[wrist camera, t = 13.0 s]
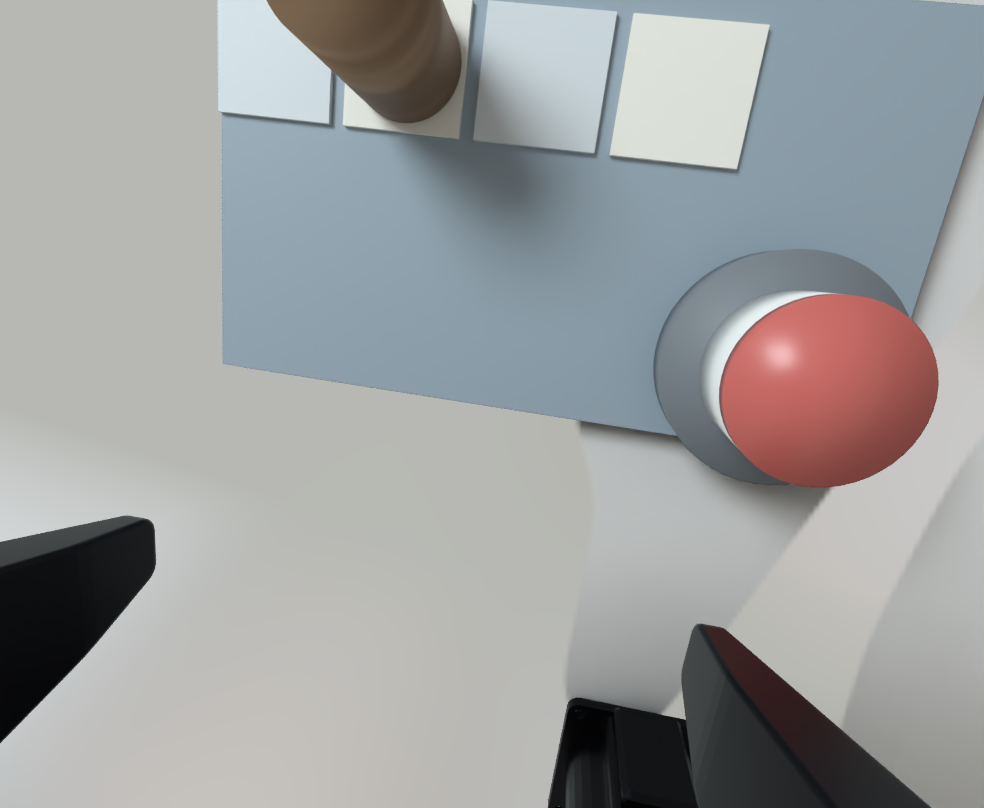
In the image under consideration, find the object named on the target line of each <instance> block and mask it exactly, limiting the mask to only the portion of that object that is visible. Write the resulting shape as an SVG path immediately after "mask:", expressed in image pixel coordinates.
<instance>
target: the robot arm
mask: <svg viewBox="0 0 984 808" xmlns="http://www.w3.org/2000/svg"><path fill="white" fill-rule="evenodd" d="M155 565H156V552H155V529H154V525H153V523H152V522H151V521H150V520H148V519H144V518H139V517H133V516H121V517H117V518H111V519H107V520H102V521H97V522H93V523H88V524H84V525H79V526H74V527H69V528H64V529H60V530H55V531H51V532H45V533H41V534H36V535H32V536H27V537H22V538H18V539H12V540H8V541H3V542H0V743H1V742H2V741H3V740H4V739H5V738H6V737H7V736H8V735H9V734H10V733H11V732H12V730H14V729H15V728H16V727H17V726H18V725H19V724H20V723H21V722H22V720H23V719H24V718H25V717H26V716H27V715H28V714H29V713H30V712H31V711H32V710H33V709H34V708H35V707H36V706H37V705H38V704H39V703H40V702H41V701H42V700H43V699H44V698H45V697H46V696H47V695H48V694H49V693H50V692H51V691H52V690H53V689H54V688H55V687H56V686H57V685H58V684H59V683H60V682H61V681H62V680H63V678H65V677H66V676H67V675H68V673H69V672H70V671H72V669H73V668H74V667H75V666H76V665H77V664H78V663H79V662H80V661H81V660H82V659H83V658H84V657H85V656H86V655H87V653H88V652H89V651H90V650H91V649H92V648H93V646H94V645H95V644H96V643H97V642H98V641H99V639H100V638H101V637H102V636H103V635H104V633H105V632H106V631H107V630H108V629H109V627H110V626H111V625H112V624H113V622H114V621H115V620H116V619H117V618H118V616H119V615H120V614H121V613H122V612H123V611H124V609H125V608H126V607H127V606H128V605H129V603H130V602H131V601H132V599H133V598H134V597H135V596H136V595H137V593H138V592H139V591H140V590H141V589H142V587H143V586H144V585H145V584H146V583H147V582H148V580H149V579H150V578H151V576H152V574H153V572H154V569H155ZM682 691H683V699H684V707H685V715H686V720H684V719H679V718H674V717H669V716H665V715H660V714H655V713H650V712H645V711H640V710H636V709H631V708H626V707H621V706H616V705H611V704H607V703H602V702H597V701H592V700H587V699H582V698H574V699H572V700H570V701H569V702H568V705H567V709H566V714H565V719H564V725H563V729H562V734H561V739H560V744H559V750H558V755H557V759H556V764H555V769H554V774H553V779H552V784H551V789H550V795H549V799H548V808H931V807H930V806H929V805H928V804H927V803H925V802H924V801H923V800H922V799H921V798H920V797H918V796H917V795H916V794H915V793H914V792H913V791H912V790H910V789H909V788H908V787H907V786H906V785H905V784H903V783H902V782H901V781H900V780H899V779H898V778H896V777H895V776H894V775H893V774H892V773H891V772H890V771H888V770H887V769H886V768H885V767H884V766H883V765H881V764H880V763H879V762H878V761H877V760H876V759H875V758H873V757H872V756H871V755H870V754H869V753H868V752H866V751H865V750H864V749H863V748H862V747H861V746H859V745H858V744H857V743H856V742H855V741H854V740H853V739H851V738H850V737H849V736H848V735H847V734H846V733H844V732H843V731H842V730H841V729H840V728H839V727H838V726H836V725H835V724H834V723H833V722H832V721H831V720H829V719H828V718H827V717H826V716H825V715H824V714H822V713H821V712H820V711H819V710H818V709H816V707H814V706H813V705H812V704H811V703H810V702H809V701H807V700H806V699H805V698H804V697H803V696H802V695H801V694H799V693H798V692H797V691H796V690H795V689H794V688H792V687H791V686H790V685H789V684H788V683H787V682H785V681H784V680H783V679H782V678H781V677H780V676H779V675H777V674H776V673H775V672H774V671H773V670H772V669H770V668H769V667H768V666H767V665H766V664H765V663H763V662H762V661H761V660H760V659H759V658H758V657H757V656H755V655H754V654H753V653H752V652H751V651H750V650H748V649H747V648H746V647H745V646H744V645H743V644H742V643H740V642H739V641H738V640H737V639H736V638H735V637H733V636H732V635H731V634H730V633H729V632H728V631H726V630H725V629H724V628H721V627H716V626H711V625H705V624H697V625H695V627H694V628H693V630H692V633H691V637H690V641H689V645H688V648H687V652H686V656H685V660H684V664H683V668H682ZM575 710H582V712H576V711H575ZM558 806H560V807H558Z"/></svg>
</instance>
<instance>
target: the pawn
mask: <svg viewBox="0 0 984 808" xmlns="http://www.w3.org/2000/svg"><path fill="white" fill-rule="evenodd" d="M267 2H268V4H269V6H270V8H271V9H272V11H273V13H274V14H275V16H276V17H277V18H278V19H279V21H280V22H281V23H282V24H283V25H284V26H285V27H286V28H287V29H288V30H289V31H290V32H291V33H292V34H293V35H294V36H295V37H297V38H298V39H299V40H300V41H301V42H302V43H303V44H304V45H305V46H306V47H307V48H308V49H309V50H310V51H311V52H313V53H314V54H315V55H316V56H317V57H318V58H319V59H320V60H321V61H322V62H323V63H324V64H325V65H326V66H327V67H328V68H330V69H331V70H332V71H333V72H334V73H335V74H336V75H337V76H338V77H339V78H340V79H341V80H342V81H343V82H344V83H346V84H347V85H348V86H349V87H350V88H351V89H352V90H353V91H354V92H355V93H356V94H357V95H358V96H359V97H360V98H362V99H363V100H364V101H365V102H366V103H367V104H368V105H369V106H370V107H371V108H372V109H373V110H374V111H376V112H377V113H378V114H380V115H381V116H383V117H385V118H387V119H389V120H392V121H395V122H399V123H415V122H419V121H423V120H425V119H428V118H430V117H432V116H433V115H435V114H436V113H438V112H439V111H440V110H441V109H442V108H443V107H444V106H445V105H446V104H447V103H448V101H449V100H450V99H451V97H452V95H453V94H454V92H455V89H456V87H457V85H458V81H459V78H460V73H461V64H462V58H461V49H460V44H459V40H458V37H457V35H456V32H455V30H454V27H453V25H452V22H451V20H450V17H449V15H448V12H447V10H446V7H445V5H444V2H443V0H267Z"/></svg>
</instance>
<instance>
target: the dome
mask: <svg viewBox="0 0 984 808" xmlns="http://www.w3.org/2000/svg"><path fill="white" fill-rule="evenodd" d="M699 387H700V394H701V398H702V401H703V404H704V406H705V409H706V411H707V413H708V414H709V416H710V418H711V419H712V421H713V422H714V423H715V424H716V425H717V427H718V428H719V429H720V430H721V431H722V432H723V433H724V434H725V435H726V436H727V437H728V438H729V439H730V441H731V442H732V443H733V444H734V445H735V446H736V447H737V448H738V449H739V450H740V451H741V452H742V453H743V454H744V455H745V456H746V458H747V459H748V460H750V461H751V462H752V463H753V464H754V465H755V466H756V467H758V468H759V469H761V470H762V471H763V472H765V473H766V474H768V475H770V476H772V477H774V478H776V479H779V480H781V481H784V482H787V483H790V484H795V485H799V486H806V487H833V486H841V485H845V484H850V483H854V482H857V481H860V480H862V479H865V478H868V477H870V476H872V475H874V474H876V473H878V472H880V471H882V470H883V469H885V468H887V467H888V466H890V465H891V464H893V463H894V462H895V461H896V460H897V459H899V458H900V457H901V456H903V455H904V454H905V452H907V451H908V450H909V449H910V448H911V447H912V446H913V444H914V443H915V442H916V440H917V439H918V438H919V437H920V435H921V434H922V432H923V430H924V429H925V427H926V425H927V424H928V422H929V419H930V417H931V415H932V412H933V409H934V406H935V402H936V399H937V392H938V369H937V364H936V359H935V356H934V353H933V350H932V347H931V345H930V343H929V342H928V340H927V338H926V336H925V335H924V333H923V332H922V331H921V329H920V328H919V327H918V326H917V325H916V324H915V323H914V322H913V321H912V320H911V319H910V318H909V317H908V316H906V315H905V314H904V313H902V312H901V311H899V310H898V309H896V308H894V307H892V306H890V305H888V304H886V303H884V302H881V301H878V300H875V299H871V298H866V297H861V296H854V295H845V294H835V293H826V292H816V291H806V290H784V291H778V292H773V293H769V294H766V295H763V296H760V297H758V298H755V299H753V300H751V301H749V302H747V303H746V304H744V305H742V306H741V307H739V308H738V309H736V310H735V311H734V312H732V313H731V314H730V315H729V316H728V317H727V318H726V319H725V320H724V321H723V322H722V323H721V324H720V325H719V326H718V328H717V329H716V330H715V331H714V333H713V335H712V336H711V338H710V339H709V341H708V343H707V346H706V348H705V350H704V353H703V356H702V359H701V363H700V370H699Z"/></svg>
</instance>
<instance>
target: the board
mask: <svg viewBox="0 0 984 808" xmlns="http://www.w3.org/2000/svg"><path fill="white" fill-rule="evenodd" d="M443 2H444V5H445V7H446V10H447V12H448V15H449V17H450V20H451V22H452V25H453V27H454V30H455V32H456V35H457V37H458V40H459V44H460V49H461V58H462V64H461V73H460V78H459V81H458V85H457V87H456V89H455V92H454V94H453V95H452V97H451V99H450V100H449V101H448V103H447V104H446V105H445V106H444V107H443V108H442V109H441V110H440V111H439V112H438V113H436V114H435V115H433V116H432V117H430V118H428V119H425V120H423V121H419V122H415V123H399V122H395V121H392V120H389V119H387V118H385V117H383V116H381V115H380V114H378V113H377V112H376V111H374V110H373V109H372V108H371V107H370V106H369V105H368V104H367V103H366V102H365V101H364V100H363V99H362V98H360V97H359V96H358V95H357V94H356V93H355V92H354V91H353V90H352V89H351V88H350V87H349V86H348V85H347V84H346V83H344V82H343V81H342V80H341V79H340V78H339V77H338V76H337V75H336V74H335V73H334V72H333V71H332V70H331V69H330V68H328V67H327V66H326V65H325V64H324V63H323V62H322V61H321V60H320V59H319V58H318V57H317V56H316V55H315V54H314V53H313V52H311V51H310V50H309V49H308V48H307V47H306V46H305V45H304V44H303V43H302V42H301V41H300V40H299V39H298V38H297V37H295V36H294V35H293V34H292V33H291V32H290V31H289V30H288V29H287V28H286V27H285V26H284V25H283V24H282V23H281V22H280V21H279V19H278V18H277V17H276V16H275V14H274V13H273V11H272V9H271V8H270V6H269V4H268V2H267V0H218V111H219V112H221V113H222V278H223V279H222V282H223V283H222V286H223V287H222V288H223V290H222V291H223V293H222V295H223V296H222V297H223V298H222V299H223V364H227V365H233V366H239V367H245V368H252V369H258V370H264V371H270V372H277V373H283V374H289V375H295V376H302V377H308V378H315V379H321V380H327V381H334V382H340V383H346V384H353V385H359V386H365V387H371V388H378V389H384V390H390V391H397V392H403V393H409V394H416V395H422V396H428V397H435V398H441V399H447V400H454V401H460V402H466V403H473V404H479V405H485V406H491V407H498V408H504V409H510V410H517V411H524V412H530V413H536V414H542V415H548V416H555V417H562V418H567V419H574V420H580V421H586V422H592V423H599V424H605V425H611V426H618V427H624V428H630V429H637V430H643V431H649V432H656V433H662V434H668V435H675V436H678V438H679V439H680V440H681V442H682V443H683V444H684V445H685V446H686V447H687V449H688V450H689V451H690V452H691V453H692V454H694V455H695V456H696V457H697V458H698V459H699V460H700V461H702V462H703V463H705V464H706V465H708V466H709V467H711V468H712V469H714V470H716V471H718V472H720V473H722V474H724V475H726V476H729V477H732V478H735V479H737V480H741V481H745V482H750V483H755V484H765V485H788V484H790V483H787V482H784V481H781V480H779V479H776V478H774V477H772V476H770V475H768V474H766V473H765V472H763V471H762V470H761V469H759V468H758V467H756V466H755V465H754V464H753V463H752V462H751V461H750V460H748V459H747V458H746V456H745V455H744V454H743V453H742V452H741V451H740V450H739V449H738V448H737V447H736V446H735V445H734V444H733V443H732V442H731V441H730V439H729V438H728V437H727V436H726V435H725V434H724V433H723V432H722V431H721V430H720V429H719V428H718V427H717V425H716V424H715V423H714V422H713V421H712V419H711V418H710V416H709V414H708V413H707V411H706V409H705V406H704V404H703V401H702V398H701V394H700V387H699V370H700V363H701V359H702V356H703V353H704V350H705V348H706V346H707V343H708V341H709V339H710V338H711V336H712V335H713V333H714V331H715V330H716V329H717V328H718V326H719V325H720V324H721V323H722V322H723V321H724V320H725V319H726V318H727V317H728V316H729V315H730V314H731V313H732V312H734V311H735V310H736V309H738V308H739V307H741V306H742V305H744V304H746V303H747V302H749V301H751V300H753V299H755V298H758V297H760V296H763V295H766V294H769V293H773V292H778V291H784V290H806V291H816V292H826V293H835V294H845V295H854V296H861V297H866V298H871V299H875V300H878V301H881V302H884V303H886V304H888V305H890V306H892V307H894V308H896V309H898V310H899V311H901V312H902V313H904V314H905V315H906V316H908V317H909V318H910V319H911V316H912V313H913V310H914V307H915V304H916V301H917V298H918V295H919V292H920V288H921V285H922V282H923V279H924V276H925V273H926V270H927V267H928V264H929V261H930V258H931V255H932V252H933V249H934V246H935V243H936V240H937V237H938V234H939V231H940V228H941V225H942V221H943V218H944V215H945V212H946V209H947V206H948V203H949V200H950V197H951V194H952V191H953V188H954V185H955V182H956V179H957V176H958V173H959V170H960V167H961V164H962V161H963V157H964V154H965V151H966V148H967V145H968V142H969V139H970V136H971V133H972V130H973V127H974V124H975V121H976V118H977V115H978V112H979V109H980V106H981V103H982V100H983V97H984V6H982V5H970V4H957V3H945V2H932V1H920V0H443Z"/></svg>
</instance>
